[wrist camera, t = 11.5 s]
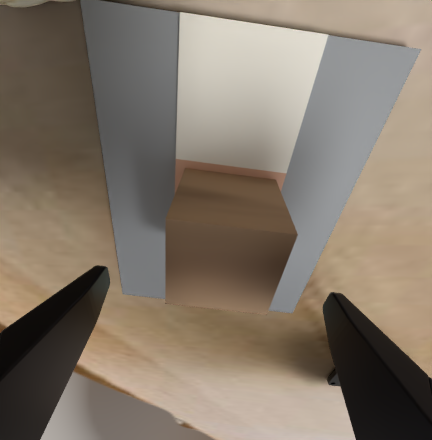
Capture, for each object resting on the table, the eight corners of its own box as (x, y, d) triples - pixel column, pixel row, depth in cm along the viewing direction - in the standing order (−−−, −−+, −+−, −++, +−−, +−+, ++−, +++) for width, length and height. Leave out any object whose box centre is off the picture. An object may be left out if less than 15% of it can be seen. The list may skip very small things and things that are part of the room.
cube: (256, 248, 16) (266, 314, 12) (181, 239, 16) (165, 303, 12) (276, 179, 13) (297, 234, 9) (185, 167, 13) (165, 218, 9)
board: (290, 304, 21) (292, 315, 20) (126, 286, 20) (121, 296, 19) (409, 49, 11) (424, 49, 10) (89, 1, 10) (77, -4, 9)
